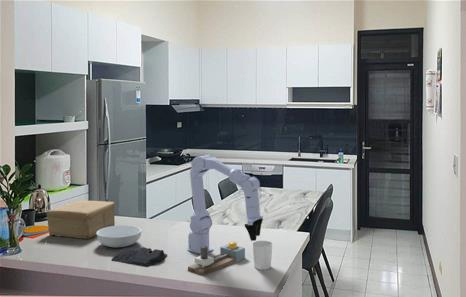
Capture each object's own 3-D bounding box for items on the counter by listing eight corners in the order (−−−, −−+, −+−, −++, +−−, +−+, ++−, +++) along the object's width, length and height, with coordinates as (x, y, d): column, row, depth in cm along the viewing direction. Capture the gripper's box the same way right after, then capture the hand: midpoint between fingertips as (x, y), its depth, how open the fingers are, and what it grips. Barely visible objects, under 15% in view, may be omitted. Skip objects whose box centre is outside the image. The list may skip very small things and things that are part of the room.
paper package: (77, 222, 267) (76, 198, 265) (117, 226, 259) (116, 201, 257) (45, 236, 241) (43, 209, 240) (88, 240, 233) (87, 213, 232)
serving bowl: (131, 253, 214) (130, 238, 213) (88, 250, 218) (88, 236, 217) (148, 239, 234) (148, 225, 233) (109, 237, 238) (108, 224, 238)
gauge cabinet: (220, 257, 207) (220, 247, 207) (229, 253, 212) (229, 243, 211) (236, 261, 202) (236, 251, 201) (244, 257, 206) (244, 247, 206)
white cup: (270, 263, 199) (270, 240, 198) (273, 270, 191) (273, 246, 190) (252, 263, 199) (252, 240, 198) (253, 270, 191) (253, 246, 190)
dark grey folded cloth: (129, 251, 218) (128, 241, 217) (170, 257, 209) (170, 246, 209) (108, 261, 204) (107, 251, 203) (151, 268, 195) (151, 257, 195)
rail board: (187, 270, 192) (187, 264, 192) (220, 257, 207) (220, 251, 207) (203, 275, 186) (203, 269, 186) (236, 261, 202) (236, 255, 201)
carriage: (194, 265, 193) (194, 247, 192) (203, 261, 197) (202, 244, 196) (205, 268, 189) (205, 250, 188) (213, 264, 193) (213, 247, 192)
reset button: (226, 252, 206) (226, 243, 206) (232, 250, 209) (232, 241, 208) (233, 253, 204) (233, 244, 203) (238, 251, 207) (238, 242, 206)
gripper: (258, 209, 191) (261, 242, 192) (265, 202, 205) (267, 233, 206) (241, 210, 193) (244, 242, 194) (249, 203, 207) (252, 233, 208)
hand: (255, 238), depth 200 cm, fingers open, 7 cm apart
